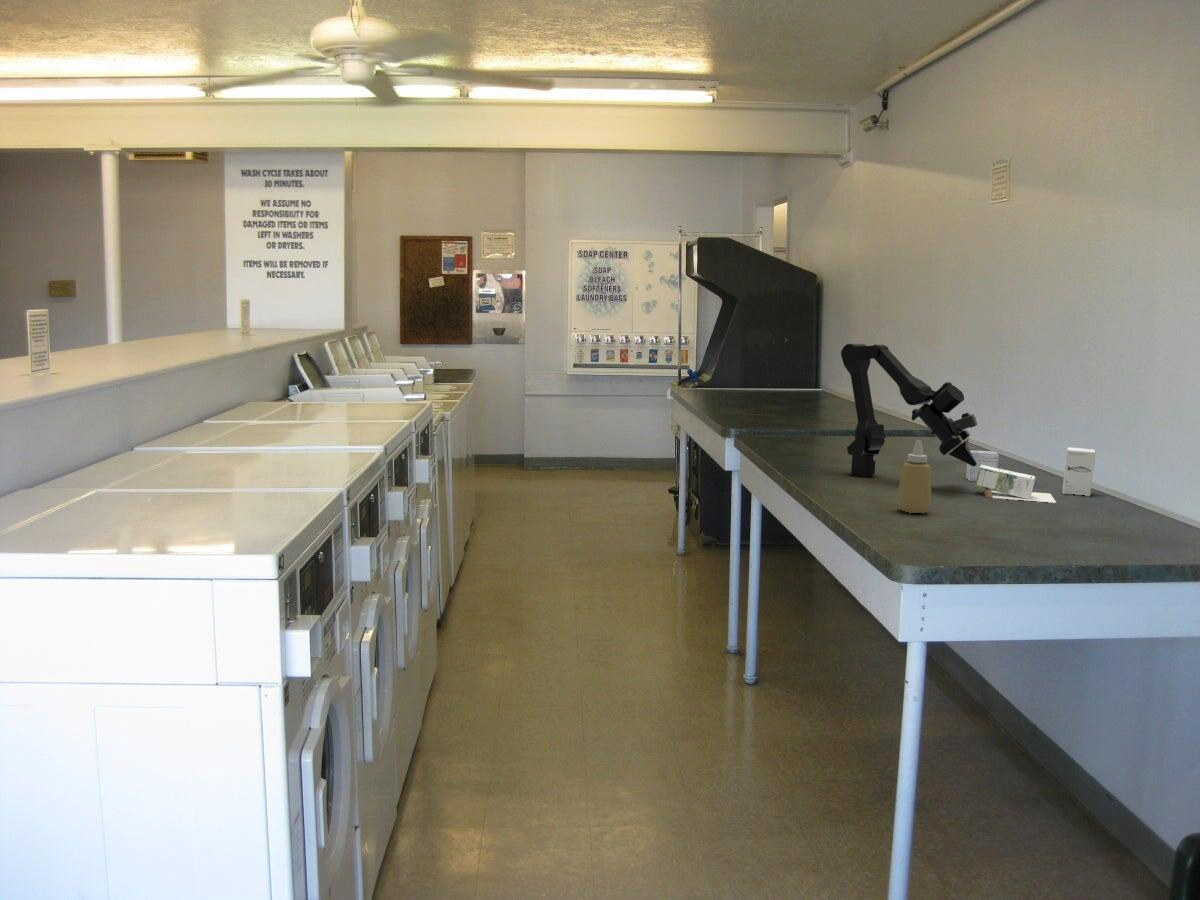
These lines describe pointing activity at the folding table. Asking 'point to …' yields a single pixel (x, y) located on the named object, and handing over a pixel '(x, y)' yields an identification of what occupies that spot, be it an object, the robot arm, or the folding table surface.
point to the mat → (1034, 497)
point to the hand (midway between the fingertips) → (975, 465)
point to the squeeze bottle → (915, 482)
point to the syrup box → (1005, 481)
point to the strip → (988, 493)
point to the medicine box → (981, 463)
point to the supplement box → (1078, 471)
